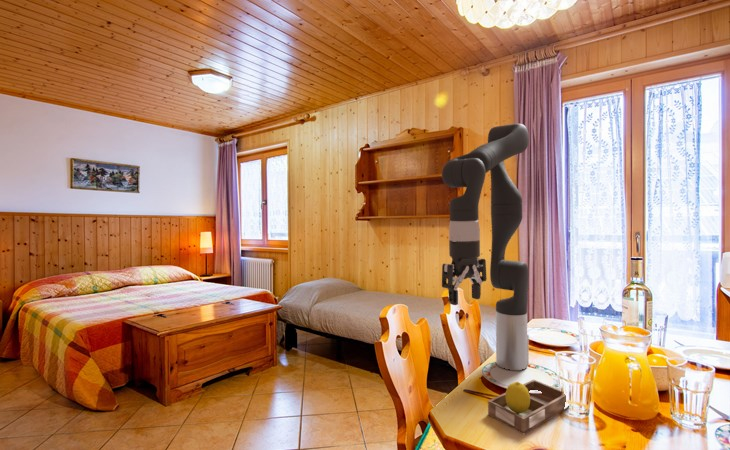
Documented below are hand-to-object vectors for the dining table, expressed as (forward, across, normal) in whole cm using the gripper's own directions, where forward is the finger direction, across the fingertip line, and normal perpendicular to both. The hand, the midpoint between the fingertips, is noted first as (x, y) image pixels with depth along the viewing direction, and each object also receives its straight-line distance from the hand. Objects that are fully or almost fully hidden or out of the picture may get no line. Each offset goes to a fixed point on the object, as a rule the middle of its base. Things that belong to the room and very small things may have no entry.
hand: (465, 301), depth 97 cm
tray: (+27, -9, +12) cm, 31 cm away
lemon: (+26, -5, +12) cm, 29 cm away
